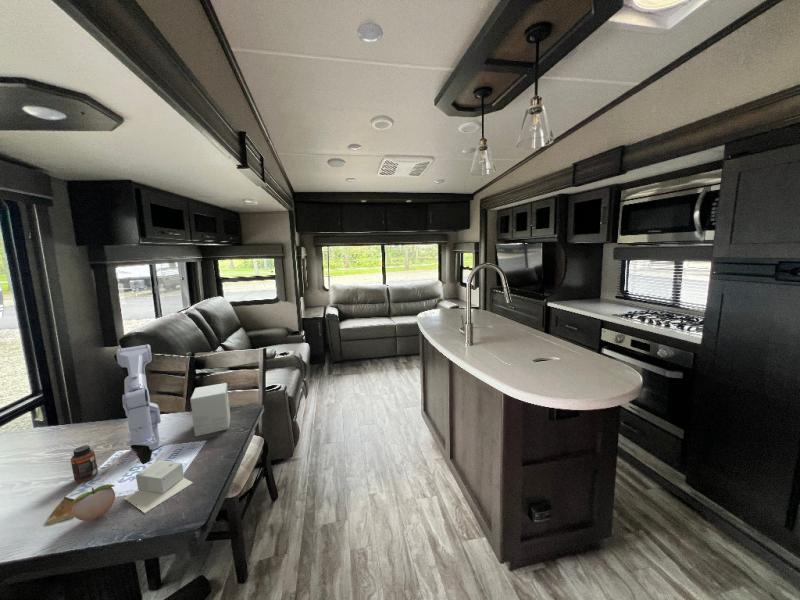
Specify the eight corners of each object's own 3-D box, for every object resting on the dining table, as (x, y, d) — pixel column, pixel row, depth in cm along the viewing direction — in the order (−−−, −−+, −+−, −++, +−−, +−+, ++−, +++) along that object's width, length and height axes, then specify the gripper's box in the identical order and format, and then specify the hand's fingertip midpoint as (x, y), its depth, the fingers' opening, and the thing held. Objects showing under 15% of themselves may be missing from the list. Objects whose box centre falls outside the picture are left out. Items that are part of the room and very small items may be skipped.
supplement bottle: (102, 473, 112) (97, 444, 110) (81, 485, 106) (75, 455, 105) (92, 470, 114) (87, 441, 112) (70, 481, 108) (65, 451, 106)
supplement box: (231, 415, 151) (227, 382, 149) (229, 429, 139) (225, 392, 137) (199, 422, 146) (194, 387, 143) (194, 437, 134) (189, 399, 131)
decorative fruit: (81, 536, 86) (75, 504, 85) (71, 524, 90) (65, 493, 89) (124, 511, 94) (119, 482, 93) (112, 501, 98) (108, 473, 97)
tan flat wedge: (65, 500, 100) (64, 495, 100) (96, 492, 103) (95, 487, 103) (45, 526, 90) (44, 521, 90) (80, 516, 94) (79, 511, 93)
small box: (137, 489, 103) (162, 494, 101) (134, 474, 102) (160, 478, 100) (160, 473, 111) (184, 477, 108) (158, 459, 110) (182, 462, 108)
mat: (124, 499, 99) (124, 498, 99) (172, 472, 112) (171, 471, 112) (144, 513, 94) (144, 512, 94) (193, 483, 106) (192, 482, 106)
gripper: (114, 425, 102) (120, 463, 104) (136, 436, 96) (142, 476, 98) (140, 415, 109) (145, 451, 110) (162, 425, 102) (167, 462, 104)
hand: (145, 462), depth 104 cm, fingers closed
